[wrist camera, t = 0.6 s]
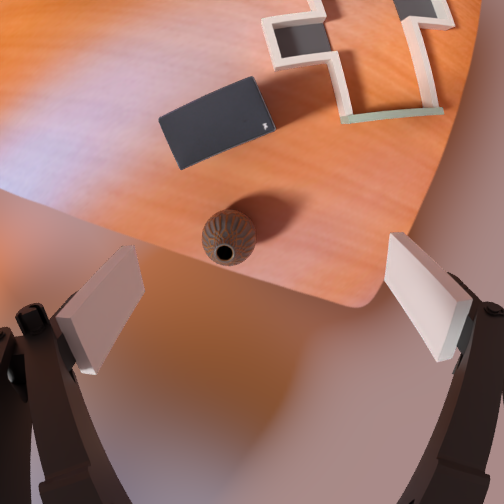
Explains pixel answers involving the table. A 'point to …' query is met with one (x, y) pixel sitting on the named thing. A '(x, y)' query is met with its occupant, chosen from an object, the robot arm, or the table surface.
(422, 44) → the box
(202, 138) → the small box
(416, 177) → the table surface
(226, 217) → the vase
